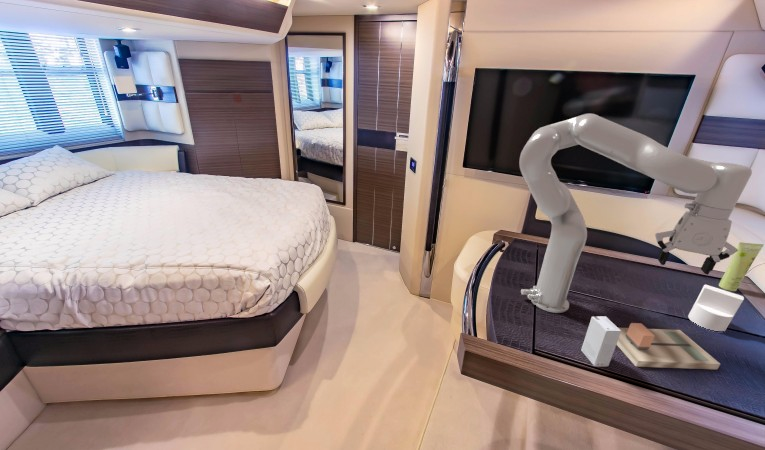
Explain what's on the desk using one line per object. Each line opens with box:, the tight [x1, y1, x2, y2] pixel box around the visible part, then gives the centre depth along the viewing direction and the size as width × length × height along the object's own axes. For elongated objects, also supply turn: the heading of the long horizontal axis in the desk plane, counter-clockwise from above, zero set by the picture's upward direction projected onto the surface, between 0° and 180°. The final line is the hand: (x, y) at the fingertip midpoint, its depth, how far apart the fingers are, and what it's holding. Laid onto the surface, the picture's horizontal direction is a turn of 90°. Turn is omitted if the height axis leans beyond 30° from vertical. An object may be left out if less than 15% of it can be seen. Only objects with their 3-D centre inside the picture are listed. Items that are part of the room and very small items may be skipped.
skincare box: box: [581, 315, 621, 368], centre depth 86 cm, size 6×4×12 cm
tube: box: [718, 242, 764, 292], centre depth 119 cm, size 6×5×20 cm
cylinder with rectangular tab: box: [687, 284, 745, 332], centre depth 102 cm, size 9×9×12 cm
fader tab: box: [626, 322, 655, 349], centre depth 90 cm, size 3×5×5 cm, turn 179°
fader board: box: [616, 327, 721, 370], centre depth 92 cm, size 22×13×2 cm, turn 89°
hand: (682, 267), depth 90 cm, fingers open, 9 cm apart
